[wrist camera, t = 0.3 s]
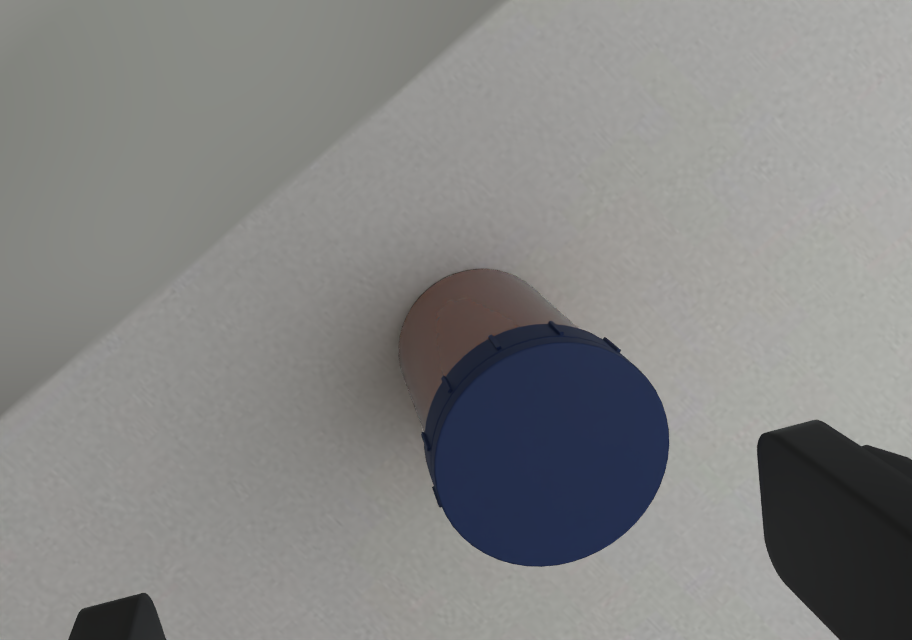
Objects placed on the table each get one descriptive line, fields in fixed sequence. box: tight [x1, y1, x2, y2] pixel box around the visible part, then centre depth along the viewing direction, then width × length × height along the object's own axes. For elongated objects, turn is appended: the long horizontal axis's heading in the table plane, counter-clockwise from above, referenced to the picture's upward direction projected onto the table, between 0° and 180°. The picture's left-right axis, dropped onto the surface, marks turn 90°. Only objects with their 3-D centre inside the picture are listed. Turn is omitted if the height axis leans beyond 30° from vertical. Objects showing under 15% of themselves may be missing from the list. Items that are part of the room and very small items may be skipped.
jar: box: [399, 269, 578, 432], centre depth 25 cm, size 5×5×8 cm
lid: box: [421, 321, 669, 567], centre depth 22 cm, size 6×6×2 cm
